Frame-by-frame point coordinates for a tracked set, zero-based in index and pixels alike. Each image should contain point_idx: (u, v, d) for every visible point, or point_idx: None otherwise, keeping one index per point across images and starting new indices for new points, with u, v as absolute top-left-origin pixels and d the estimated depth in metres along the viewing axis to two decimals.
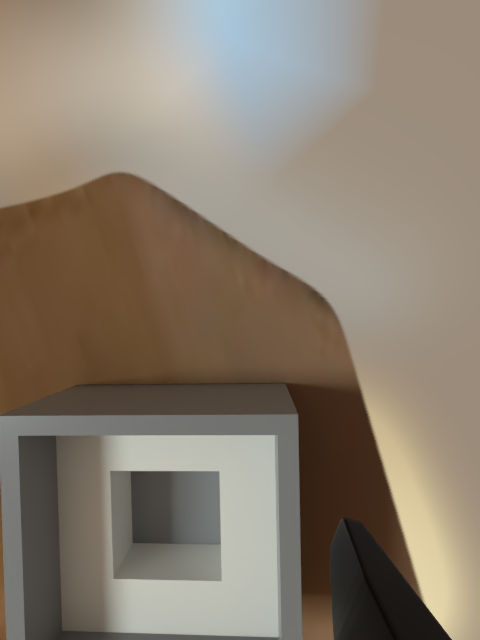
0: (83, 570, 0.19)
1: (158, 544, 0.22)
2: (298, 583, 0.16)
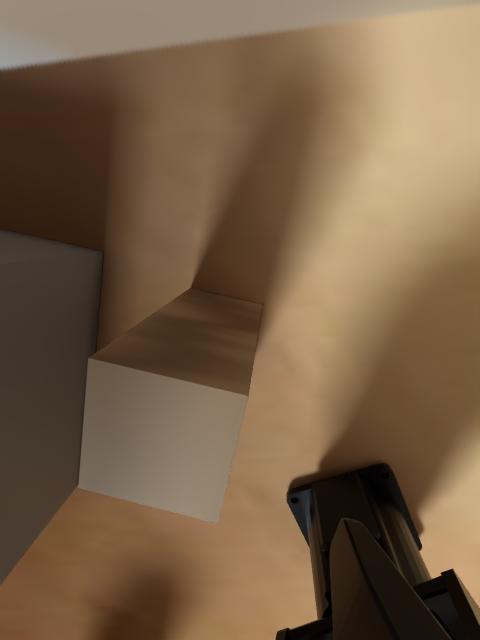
0: None
1: None
2: None
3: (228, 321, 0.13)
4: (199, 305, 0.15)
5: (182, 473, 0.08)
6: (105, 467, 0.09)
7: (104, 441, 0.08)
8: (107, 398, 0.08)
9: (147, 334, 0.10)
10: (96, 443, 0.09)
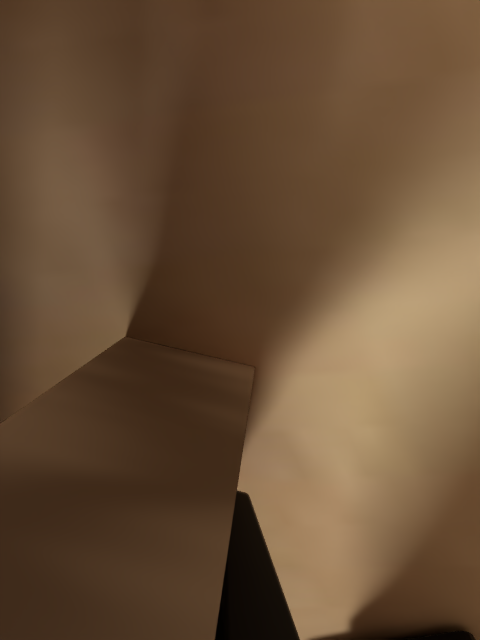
0: None
1: None
2: None
3: (164, 457, 0.05)
4: (114, 393, 0.07)
5: None
6: None
7: None
8: None
9: None
10: None
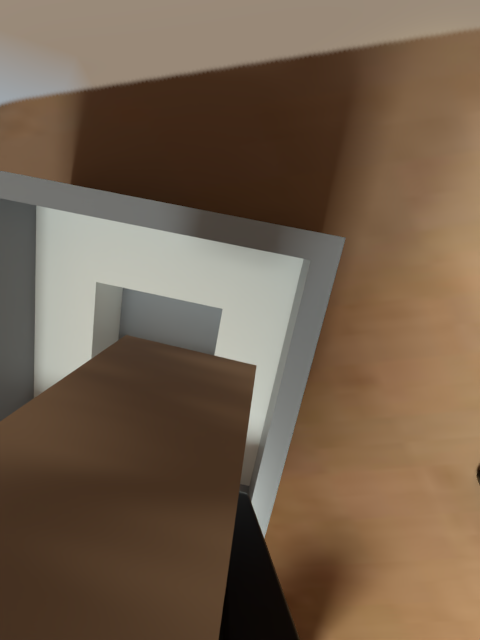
0: None
1: None
2: (161, 205, 0.12)
3: (166, 455, 0.05)
4: (115, 391, 0.07)
5: None
6: None
7: None
8: None
9: None
10: None
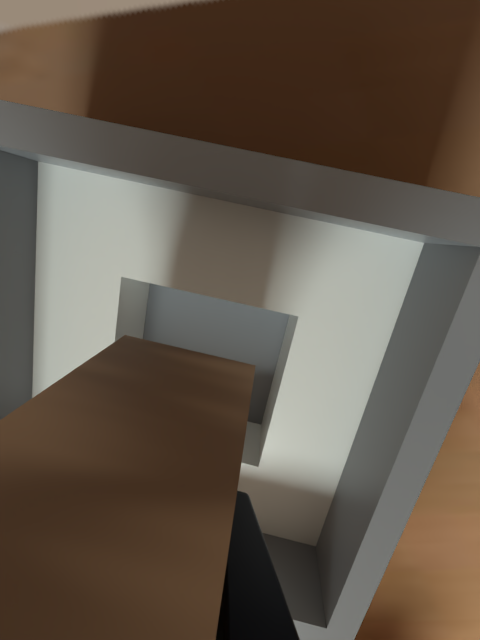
0: None
1: (269, 392, 0.15)
2: (245, 156, 0.07)
3: (164, 455, 0.05)
4: (114, 391, 0.07)
5: None
6: None
7: None
8: None
9: None
10: None
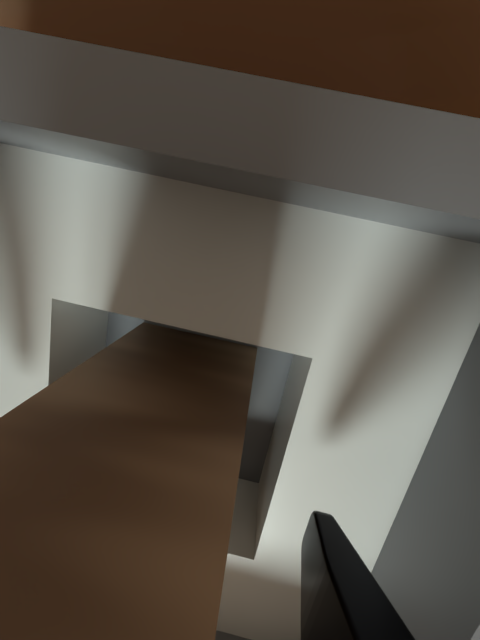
0: (226, 599, 0.10)
1: (269, 444, 0.12)
2: (220, 81, 0.04)
3: (187, 406, 0.07)
4: (141, 362, 0.08)
5: None
6: None
7: None
8: None
9: None
10: None
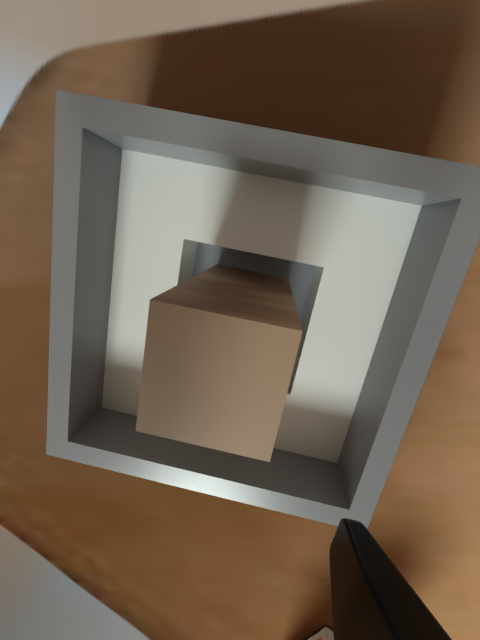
0: None
1: None
2: (293, 137, 0.11)
3: (262, 286, 0.14)
4: (230, 274, 0.15)
5: (236, 412, 0.09)
6: (162, 409, 0.09)
7: (162, 382, 0.09)
8: (166, 339, 0.09)
9: (194, 289, 0.10)
10: (154, 385, 0.09)
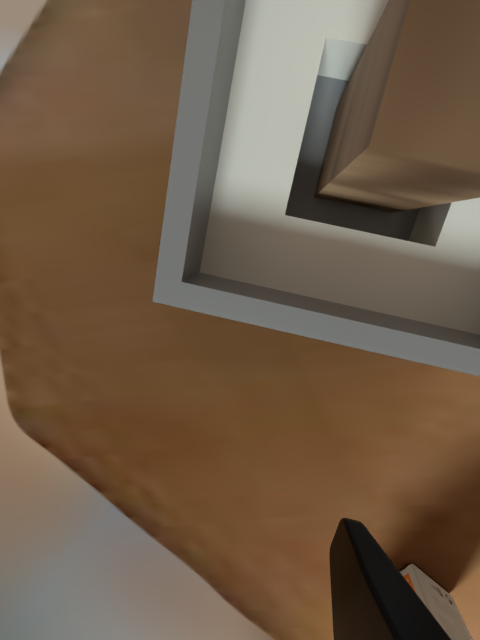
0: (409, 286, 0.14)
1: None
2: None
3: None
4: None
5: None
6: (418, 103, 0.07)
7: (427, 55, 0.06)
8: None
9: None
10: (414, 60, 0.06)
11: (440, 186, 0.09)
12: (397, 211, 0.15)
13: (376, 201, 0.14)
